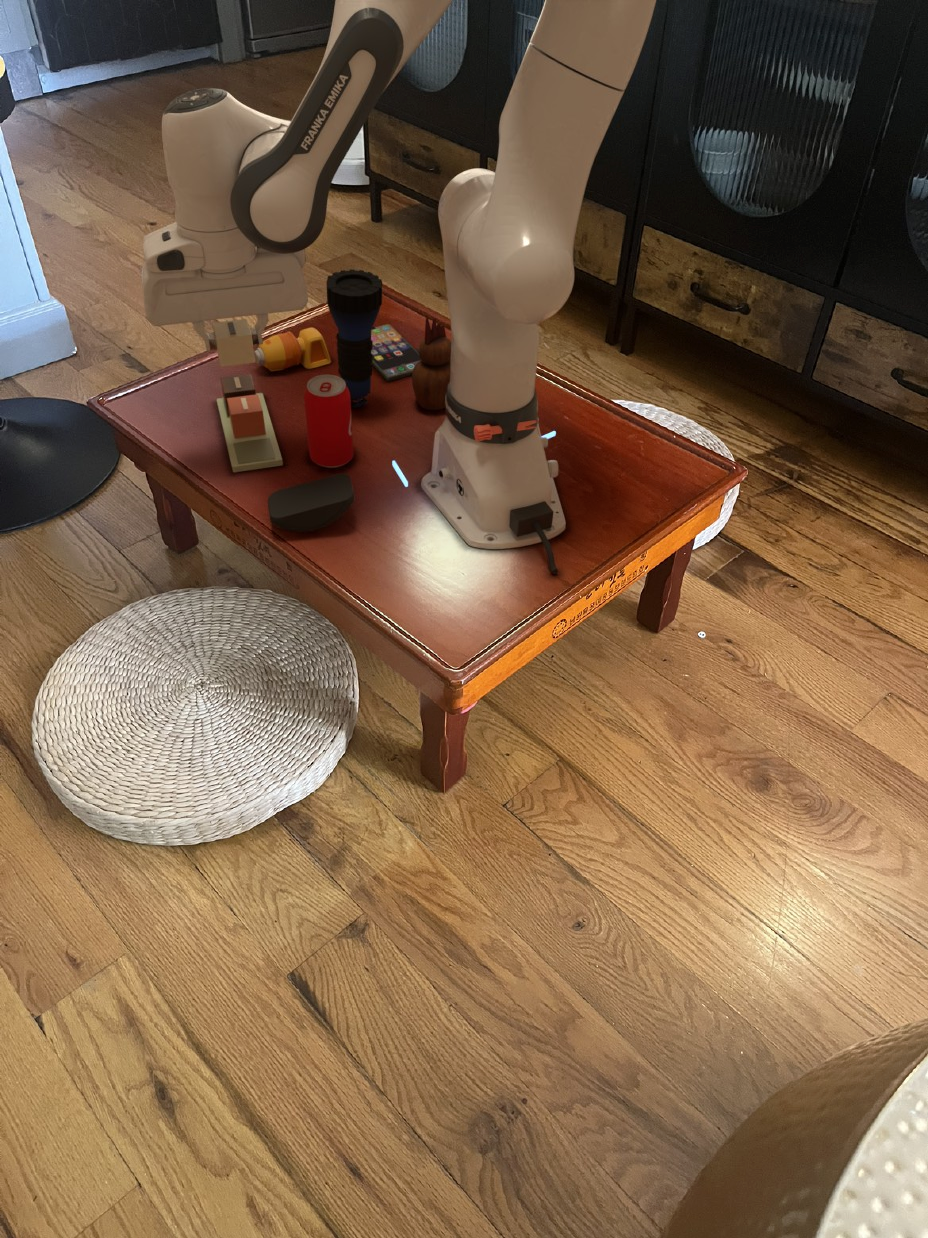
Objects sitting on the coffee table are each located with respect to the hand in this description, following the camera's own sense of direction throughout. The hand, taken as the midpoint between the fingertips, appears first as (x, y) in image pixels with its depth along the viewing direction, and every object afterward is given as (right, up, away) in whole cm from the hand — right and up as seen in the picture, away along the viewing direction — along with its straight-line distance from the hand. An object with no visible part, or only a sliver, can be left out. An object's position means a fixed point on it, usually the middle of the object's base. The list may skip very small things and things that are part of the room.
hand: (234, 345), depth 122 cm
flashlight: (+14, -3, +21) cm, 26 cm away
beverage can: (+11, -13, +12) cm, 21 cm away
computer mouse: (+10, -20, -2) cm, 22 cm away
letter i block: (0, -1, +1) cm, 2 cm away
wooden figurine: (+26, -3, +23) cm, 34 cm away
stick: (+24, +7, +32) cm, 41 cm away
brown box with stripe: (-3, -4, +18) cm, 19 cm away
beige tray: (-1, -9, +15) cm, 17 cm away
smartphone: (+18, +8, +33) cm, 38 cm away
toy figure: (+2, +5, +29) cm, 30 cm away
